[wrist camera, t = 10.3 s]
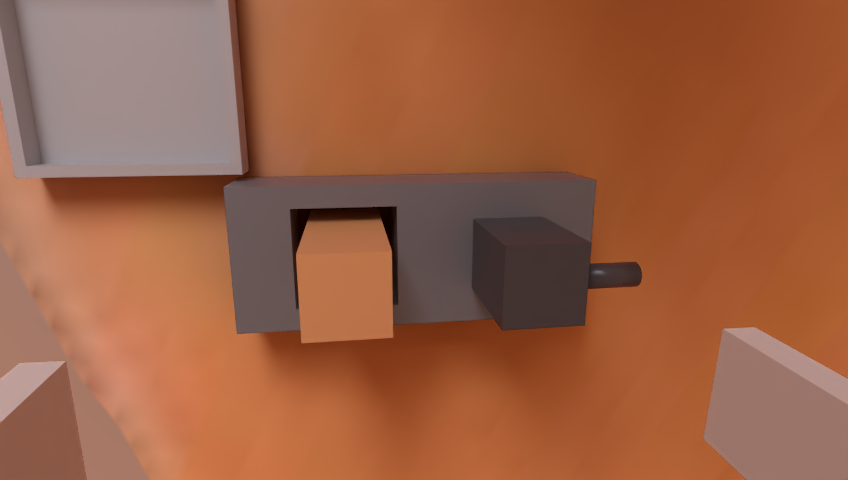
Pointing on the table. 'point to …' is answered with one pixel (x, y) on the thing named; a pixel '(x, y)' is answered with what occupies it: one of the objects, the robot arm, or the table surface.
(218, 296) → the table surface
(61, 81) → the tray
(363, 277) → the plug
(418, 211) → the strip
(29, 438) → the robot arm
